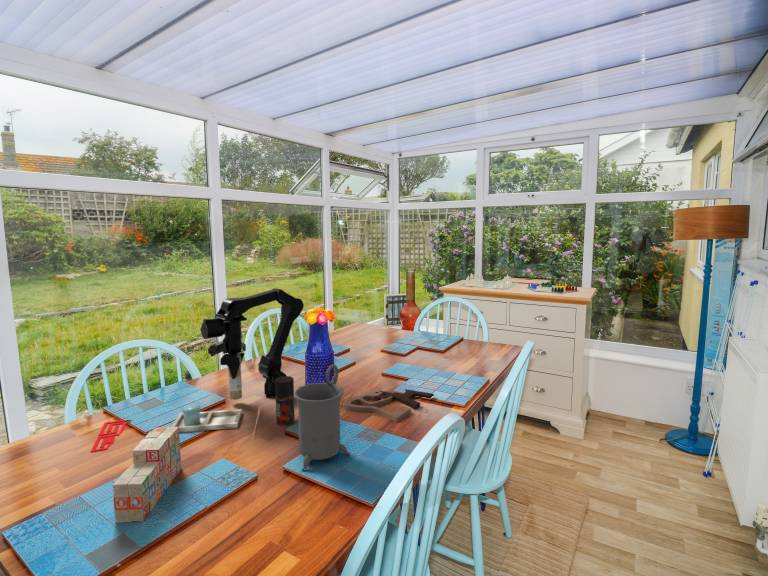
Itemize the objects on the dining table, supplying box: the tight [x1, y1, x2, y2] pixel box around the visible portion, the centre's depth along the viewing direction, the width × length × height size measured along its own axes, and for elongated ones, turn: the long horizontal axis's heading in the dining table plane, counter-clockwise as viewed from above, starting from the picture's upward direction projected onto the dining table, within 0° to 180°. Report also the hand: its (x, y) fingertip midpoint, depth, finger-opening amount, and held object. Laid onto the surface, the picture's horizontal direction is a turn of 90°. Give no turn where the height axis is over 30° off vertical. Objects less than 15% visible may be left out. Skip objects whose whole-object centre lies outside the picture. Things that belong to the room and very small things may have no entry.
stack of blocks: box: [112, 426, 182, 523], centre depth 104 cm, size 21×6×12 cm, turn 4°
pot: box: [181, 403, 201, 426], centre depth 139 cm, size 5×5×6 cm
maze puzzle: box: [90, 419, 128, 453], centre depth 137 cm, size 20×20×1 cm
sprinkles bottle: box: [227, 363, 243, 401], centre depth 154 cm, size 5×5×13 cm
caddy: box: [170, 408, 243, 433], centre depth 141 cm, size 20×11×2 cm, turn 101°
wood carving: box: [342, 389, 435, 423], centre depth 160 cm, size 28×2×24 cm
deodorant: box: [275, 375, 296, 427], centre depth 142 cm, size 6×6×15 cm
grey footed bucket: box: [294, 364, 351, 471], centre depth 121 cm, size 19×15×25 cm
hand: (234, 376), depth 154 cm, fingers closed on sprinkles bottle, 4 cm apart
